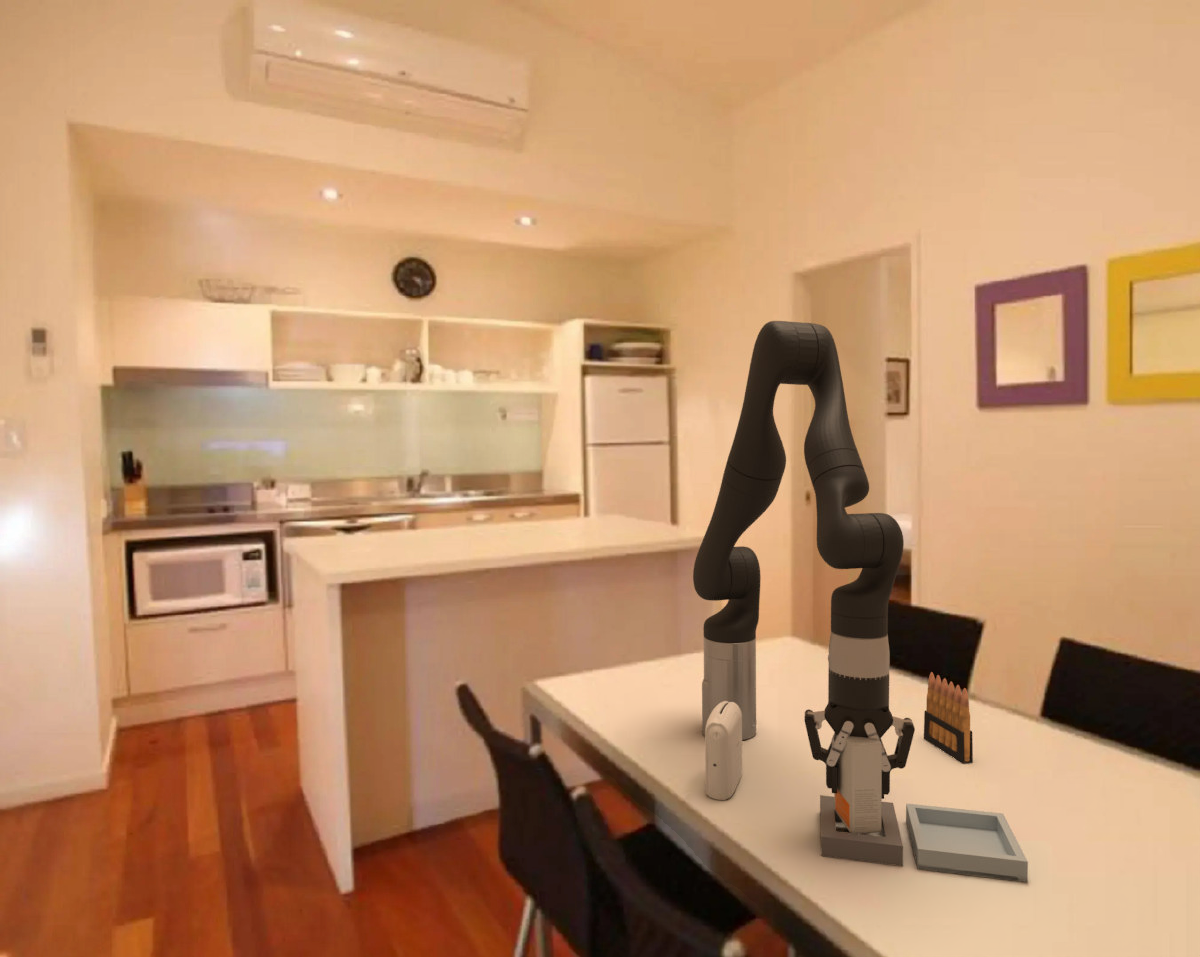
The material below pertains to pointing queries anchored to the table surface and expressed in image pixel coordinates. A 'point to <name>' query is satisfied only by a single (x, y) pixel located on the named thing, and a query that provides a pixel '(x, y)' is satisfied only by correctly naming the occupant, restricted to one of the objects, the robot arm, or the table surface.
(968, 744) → the ammunition clip
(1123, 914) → the table surface
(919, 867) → the parts tray
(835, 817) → the holder
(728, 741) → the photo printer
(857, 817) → the skincare box
